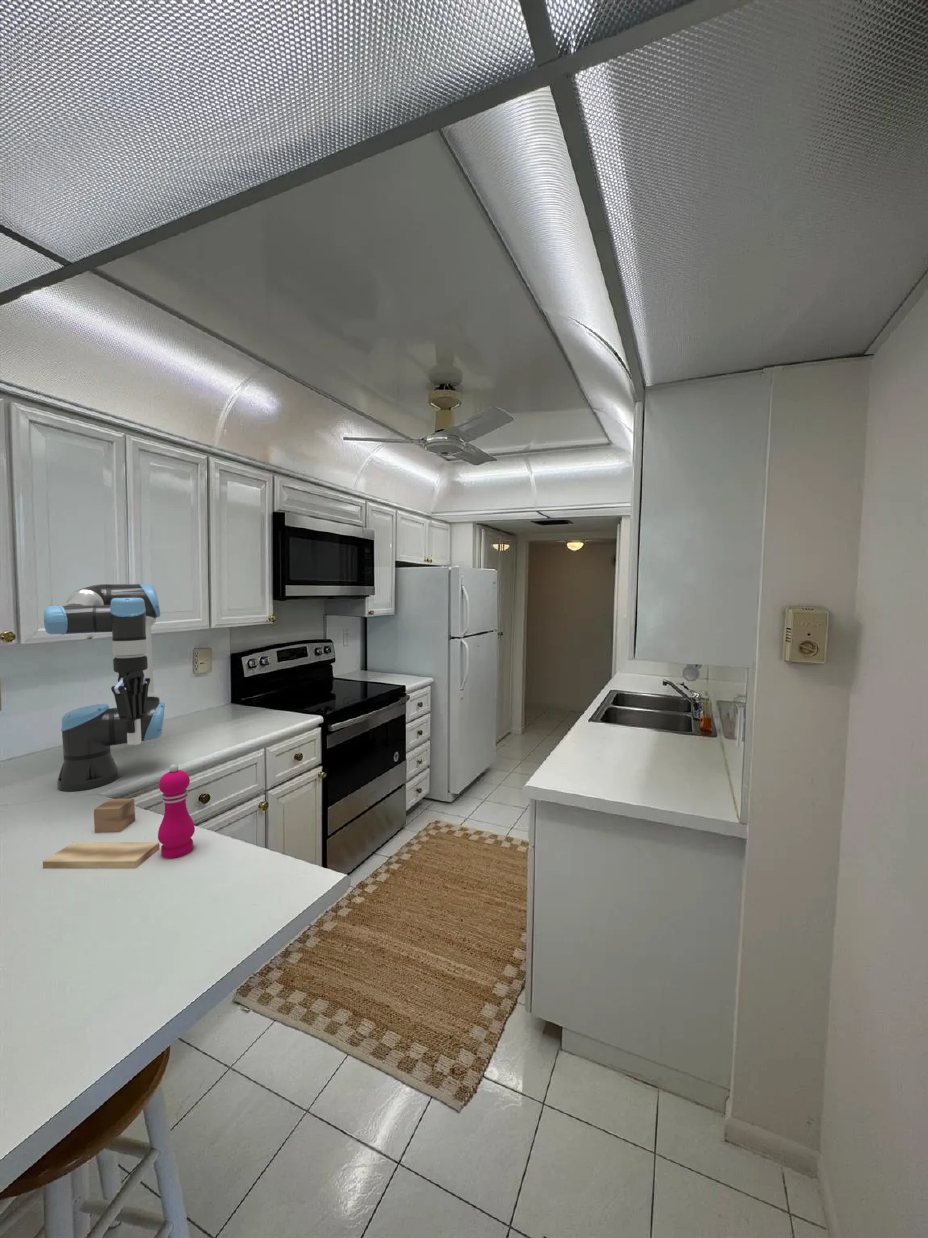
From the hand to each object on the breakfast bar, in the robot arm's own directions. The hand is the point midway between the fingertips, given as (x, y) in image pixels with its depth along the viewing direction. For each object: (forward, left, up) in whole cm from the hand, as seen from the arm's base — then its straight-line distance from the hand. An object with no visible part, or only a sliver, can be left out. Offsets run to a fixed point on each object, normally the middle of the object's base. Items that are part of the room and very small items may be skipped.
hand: (134, 743), depth 132 cm
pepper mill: (+22, +22, -19) cm, 36 cm away
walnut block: (+9, 0, -18) cm, 21 cm away
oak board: (+24, +7, -19) cm, 31 cm away
